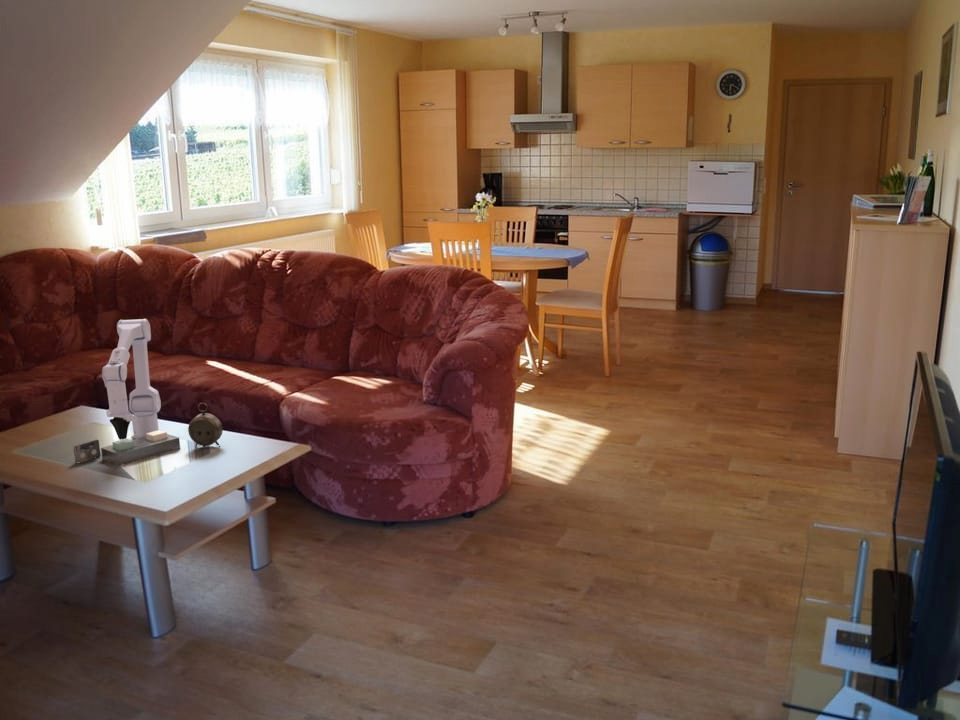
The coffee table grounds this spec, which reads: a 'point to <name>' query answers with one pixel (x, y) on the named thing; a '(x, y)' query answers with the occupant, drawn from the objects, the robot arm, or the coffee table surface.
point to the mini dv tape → (86, 451)
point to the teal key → (123, 444)
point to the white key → (156, 435)
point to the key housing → (140, 450)
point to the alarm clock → (205, 429)
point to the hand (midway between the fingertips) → (122, 438)
